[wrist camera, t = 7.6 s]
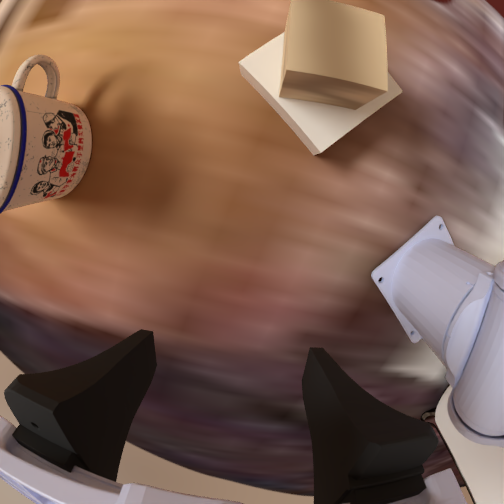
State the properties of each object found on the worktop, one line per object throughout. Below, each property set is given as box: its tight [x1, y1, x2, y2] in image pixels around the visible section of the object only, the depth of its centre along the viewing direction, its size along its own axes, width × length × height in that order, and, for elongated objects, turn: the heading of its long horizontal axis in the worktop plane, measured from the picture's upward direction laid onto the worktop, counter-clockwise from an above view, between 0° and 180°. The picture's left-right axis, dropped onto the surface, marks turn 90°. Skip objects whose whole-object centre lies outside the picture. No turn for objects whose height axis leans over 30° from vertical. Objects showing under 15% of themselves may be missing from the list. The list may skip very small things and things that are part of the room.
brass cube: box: [279, 0, 388, 110], centre depth 12 cm, size 5×5×5 cm
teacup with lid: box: [0, 55, 92, 213], centre depth 13 cm, size 12×9×12 cm
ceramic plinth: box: [239, 32, 403, 155], centre depth 16 cm, size 8×8×3 cm
